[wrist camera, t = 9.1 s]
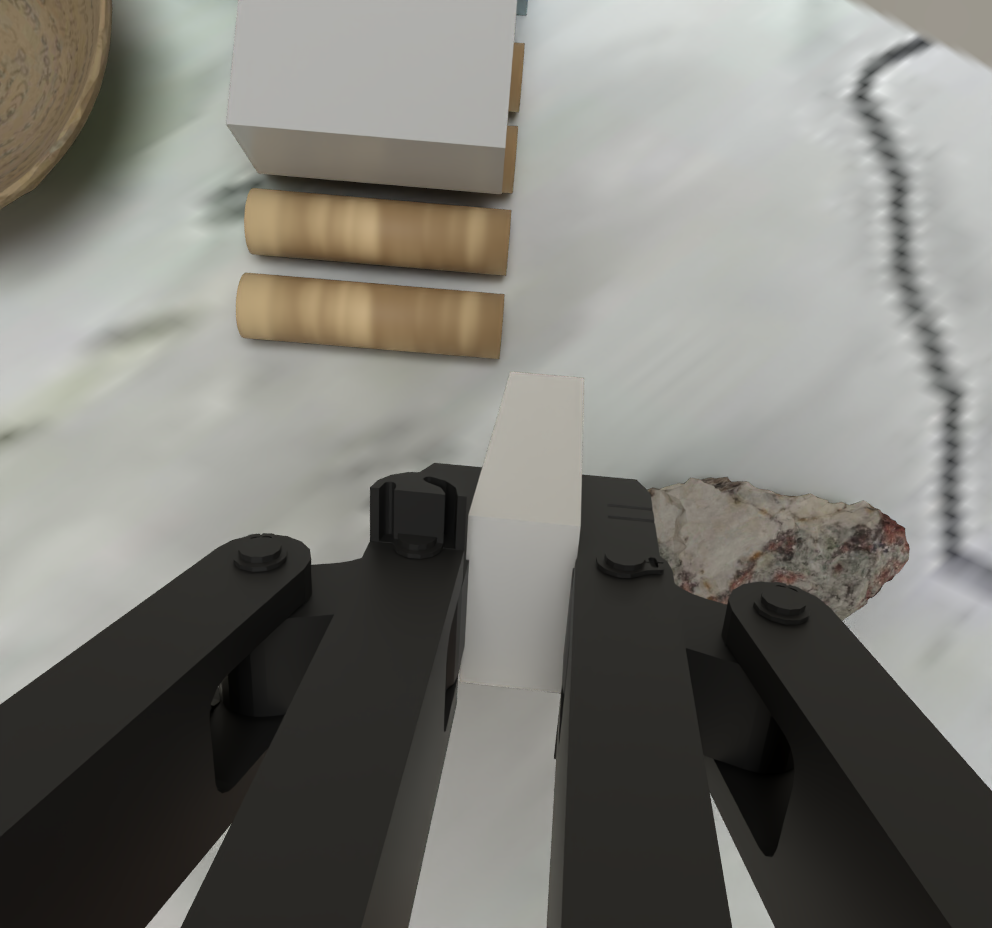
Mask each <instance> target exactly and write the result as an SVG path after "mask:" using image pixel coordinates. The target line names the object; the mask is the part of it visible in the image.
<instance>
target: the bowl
mask: <svg viewBox="0 0 992 928" xmlns="http://www.w3.org/2000/svg"><path fill="white" fill-rule="evenodd" d="M111 25H112V0H0V209H2V208H4V207H5V206H7V205H8V204H10V203H11V202H13V201H15V200H16V199H18V198H19V197H21V196H23V195H24V194H26V193H28V192H30V191H32V190H34V189H35V188H36V187H37V186H38V185H39V183H40V182H41V181H42V180H43V179H44V178H45V177H46V176H47V175H48V173H49V172H50V171H51V170H52V169H53V168H54V167H55V165H56V164H57V163H58V162H59V161H60V160H61V159H62V157H63V156H64V155H65V153H66V152H67V151H68V149H69V148H70V147H71V146H72V144H73V142H74V141H75V139H76V138H77V136H78V135H79V133H80V132H81V130H82V128H83V126H84V125H85V123H86V121H87V119H88V117H89V115H90V113H91V111H92V108H93V106H94V104H95V101H96V99H97V96H98V94H99V92H100V88H101V85H102V81H103V77H104V73H105V70H106V66H107V61H108V54H109V48H110V41H111Z"/></svg>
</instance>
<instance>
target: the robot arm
mask: <svg viewBox="0 0 992 928" xmlns="http://www.w3.org/2000/svg"><path fill="white" fill-rule="evenodd" d="M583 404H584V378H579V377H568V376H556V375H545V374H533V373H521V372H510V375H509V378H508V381H507V385H506V388H505V392H504V395H503V398H502V402H501V405H500V409H499V412H498V416H497V419H496V422H495V426H494V429H493V433H492V436H491V439H490V443H489V446H488V450H487V453H486V457H485V460H484V463H483V467H472V466H461V465H451V464H440V463H434V464H432V465H430V466H429V467H427V468H426V469H424V470H422V471H421V472H407V473H400V474H394V475H390V476H387V477H385V478H382V479H380V480H378V481H377V482H375V483H374V484H373V485H372V486H371V487H370V542H369V544H368V547H367V549H366V551H365V553H364V555H363V557H362V558H360V559H356V560H353V561H348V562H341V563H332V564H318V565H311V555H310V549H309V548H308V547H307V546H306V545H304V544H303V543H302V542H301V541H298V540H296V539H293V538H291V537H288V536H280V535H274V534H266V533H263V534H262V535H260V534H252V535H249V536H246V537H243V538H239V539H235V540H232V541H230V542H228V543H226V544H224V545H222V546H220V547H218V548H217V549H215V550H214V551H213V552H211V553H210V554H208V555H207V556H206V557H204V558H203V559H201V560H200V561H199V562H197V563H196V564H195V565H193V566H192V567H190V568H189V569H188V570H186V571H185V572H183V573H182V574H181V575H179V576H178V577H176V578H175V579H174V580H172V581H171V582H170V583H168V584H167V585H165V586H164V587H163V588H161V589H160V590H158V591H157V592H156V593H154V594H153V595H152V596H150V597H149V598H147V599H146V600H145V601H143V602H142V603H140V604H139V605H138V606H136V607H135V608H133V609H132V610H131V611H129V612H128V613H127V614H125V615H124V616H122V617H121V618H120V619H118V620H117V621H115V622H114V623H113V624H111V625H110V626H109V627H107V628H106V629H104V630H103V631H102V632H100V633H99V634H97V635H96V636H95V637H93V638H92V639H91V640H89V641H88V642H86V643H85V644H84V645H82V646H81V647H79V648H78V649H77V650H75V651H74V652H72V653H71V654H70V655H68V656H67V657H66V658H64V659H63V660H61V661H60V662H59V663H57V664H56V665H54V666H53V667H52V668H50V669H49V670H48V671H46V672H45V673H43V674H42V675H41V676H39V677H38V678H36V679H35V680H34V681H32V682H31V683H30V684H28V685H27V686H25V687H24V688H23V689H21V690H20V691H18V692H17V693H16V694H14V695H13V696H11V697H10V698H9V699H7V700H6V701H5V702H3V703H2V704H0V928H145V927H146V926H147V925H148V923H149V922H150V921H151V920H152V919H153V917H154V916H155V915H156V914H157V913H158V911H159V910H160V909H161V908H162V907H163V905H164V904H165V903H166V902H167V901H168V899H169V898H170V897H171V896H172V894H173V893H174V892H175V891H176V890H177V888H178V887H179V886H180V885H181V884H182V882H183V881H184V880H185V879H186V878H187V876H188V875H189V874H190V873H191V872H192V870H193V869H194V868H195V867H196V866H197V864H198V863H199V862H200V861H201V860H202V858H203V857H204V856H205V855H206V854H207V852H208V851H209V850H210V849H211V848H212V846H213V845H214V844H215V843H216V842H217V840H218V839H219V838H220V837H221V835H222V834H223V833H224V832H225V831H226V829H227V828H228V827H229V826H230V825H231V826H230V828H229V830H228V832H227V834H226V836H225V838H224V840H223V842H222V844H221V846H220V848H219V850H218V853H217V855H216V857H215V859H214V861H213V863H212V865H211V867H210V869H209V871H208V873H207V875H206V877H205V879H204V881H203V883H202V885H201V887H200V889H199V891H198V893H197V895H196V897H195V899H194V901H193V904H192V906H191V908H190V910H189V912H188V914H187V916H186V918H185V920H184V922H183V924H182V926H181V928H408V926H409V921H410V917H411V912H412V908H413V903H414V898H415V894H416V889H417V885H418V880H419V875H420V871H421V866H422V861H423V857H424V852H425V848H426V843H427V838H428V834H429V829H430V824H431V820H432V815H433V811H434V806H435V801H436V797H437V792H438V788H439V783H440V778H441V774H442V769H443V764H444V760H445V755H446V751H447V746H448V741H449V737H450V732H451V728H452V723H453V718H454V714H455V709H456V704H457V685H458V673H459V669H460V682H463V683H472V684H481V685H490V686H499V687H508V688H517V689H526V690H535V691H544V692H553V693H561V698H560V707H559V716H558V725H557V735H556V744H555V753H554V759H556V770H555V788H554V806H553V823H552V841H551V859H550V876H549V894H548V912H547V928H732V924H731V918H730V912H729V906H728V900H727V894H726V888H725V882H724V876H723V870H722V864H721V858H720V852H719V846H718V840H717V834H716V828H715V822H714V816H713V810H712V804H711V798H710V794H711V796H712V798H713V800H714V802H715V804H716V806H717V808H718V810H719V812H720V814H721V816H722V818H723V821H724V823H725V825H726V827H727V829H728V831H729V833H730V835H731V837H732V839H733V841H734V843H735V845H736V847H737V850H738V852H739V854H740V856H741V858H742V860H743V862H744V864H745V866H746V868H747V870H748V872H749V874H750V876H751V879H752V881H753V883H754V885H755V887H756V889H757V891H758V893H759V895H760V897H761V899H762V901H763V903H764V905H765V908H766V910H767V912H768V914H769V916H770V918H771V920H772V922H773V924H774V926H775V928H992V791H991V790H990V788H989V787H988V786H987V785H986V784H985V783H984V782H983V781H982V779H981V778H980V777H979V776H978V775H977V774H976V773H975V771H974V770H973V769H972V768H971V767H970V766H969V765H968V764H967V762H966V761H965V760H964V759H963V758H962V757H961V756H960V754H959V753H958V752H957V751H956V750H955V749H954V748H953V747H952V745H951V744H950V743H949V742H948V741H947V740H946V739H945V737H944V736H943V735H942V734H941V733H940V732H939V731H938V729H937V728H936V727H935V726H934V725H933V724H932V723H931V722H930V720H929V719H928V718H927V717H926V716H925V715H924V714H923V712H922V711H921V710H920V709H919V708H918V707H917V706H916V705H915V703H914V702H913V701H912V700H911V699H910V698H909V697H908V695H907V694H906V693H905V692H904V691H903V690H902V689H901V688H900V686H899V685H898V684H897V683H896V682H895V681H894V680H893V678H892V677H891V676H890V675H889V674H888V673H887V672H886V670H885V669H884V668H883V667H882V666H881V665H880V664H879V663H878V661H877V660H876V659H875V658H874V657H873V656H872V655H871V653H870V652H869V651H868V650H867V649H866V648H865V647H864V646H863V644H862V643H861V642H860V641H859V640H858V639H857V638H856V636H855V635H854V634H853V633H852V632H851V631H850V630H849V628H848V627H847V626H846V625H845V624H844V623H843V622H842V621H841V619H840V618H839V617H838V616H837V615H836V614H835V613H834V611H833V610H832V609H831V608H830V607H829V606H828V605H826V604H825V603H824V602H823V601H821V600H820V599H819V598H818V597H816V596H814V595H812V594H810V593H808V592H806V591H804V590H802V589H800V588H799V587H796V586H793V585H790V584H789V585H786V584H785V583H780V582H761V581H760V582H753V583H746V584H742V585H741V586H739V587H737V588H735V589H733V590H732V592H731V594H730V597H729V599H728V604H723V603H720V602H716V601H712V600H709V599H706V598H703V597H700V596H697V595H694V594H692V593H690V592H688V591H686V590H684V589H682V588H680V587H679V586H677V585H676V584H675V582H674V576H673V571H672V569H671V567H670V565H669V563H668V562H667V561H666V560H665V559H663V558H662V557H661V556H660V553H659V547H658V540H657V533H656V527H655V523H654V513H653V507H652V500H651V494H650V493H649V492H648V491H647V490H646V489H645V488H644V487H643V486H642V485H641V484H640V483H639V482H638V481H637V480H633V479H623V478H612V477H602V476H591V475H582V446H583ZM460 664H461V668H460ZM218 686H219V687H218ZM231 823H232V824H231Z"/></svg>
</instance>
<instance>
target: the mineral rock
mask: <svg viewBox="0 0 992 928" xmlns="http://www.w3.org/2000/svg"><path fill="white" fill-rule="evenodd" d="M647 491H648V492H649V493H650V494H651V500H652V507H653V513H654V523H655V527H656V533H657V540H658V547H659V553H660V556H661V557H662V558H663V559H665V560H666V561H667V562H668V563H669V565H670V567H671V569H672V571H673V576H674V582H675V584H676V585H677V586H679V587H680V588H682V589H684V590H686V591H688V592H690V593H692V594H694V595H697V596H700V597H703V598H706V599H709V600H712V601H716V602H720V603H723V604H728V599H729V597H730V594H731V592H732V590H733V589H735V588H737V587H739V586H741V585H742V584H746V583H753V582H760V581H761V582H780V583H785V584H786V585H789V584H790V585H793V586H796V587H799V588H800V589H802V590H804V591H806V592H808V593H810V594H812V595H814V596H816V597H818V598H819V599H820V600H821V601H823V602H824V603H825V604H826V605H828V606H829V607H830V608H831V609H832V610H833V611H834V613H835V614H836V615H837V616H838V617H839V618H840V619H841V621H842V620H844V619H845V618H847V617H848V616H849V615H851V614H852V613H854V612H855V611H856V610H858V609H860V608H862V607H863V606H864V605H865V604H867V602H868V599H869V598H872V597H873V596H875V595H876V594H877V593H878V592H879V591H880V590H881V587H882V585H883V584H884V583H886V582H888V581H890V580H892V579H893V577H894V576H895V575H896V574H897V573H899V571H900V570H901V569H902V568H903V566H904V565H905V564H906V562H907V561H908V559H909V544H908V543H907V541H906V536H905V528H904V527H903V526H901V525H899V524H897V523H896V521H894V520H892V519H891V518H890V517H889V516H888V515H886V514H883V513H882V512H881V510H880V509H876V508H874V507H872V506H871V505H870V504H868V503H867V502H866V501H861V502H858V503H855V504H852V505H847V504H846V503H842V502H839V503H829V502H828V500H825V499H821V498H818V497H816V496H814V495H812V494H806V495H801V496H786V495H779V494H777V493H774V492H772V491H770V490H763V489H758V488H755V487H754V486H752V485H751V484H750V483H749V482H743V481H737V482H731V481H730V480H729V479H728V477H723V478H717V479H714V478H706V479H702V480H699V479H695V478H689V479H688V481H687V482H686V483H685V484H680V483H678V484H675V485H671V486H667V487H663V488H661V489H657V488H651V489H649V490H647Z"/></svg>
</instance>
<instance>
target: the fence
mask: <svg viewBox="0 0 992 928" xmlns="http://www.w3.org/2000/svg"><path fill="white" fill-rule="evenodd" d="M527 3H528V0H517V10H516V14H517V15H526V13H527Z"/></svg>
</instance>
